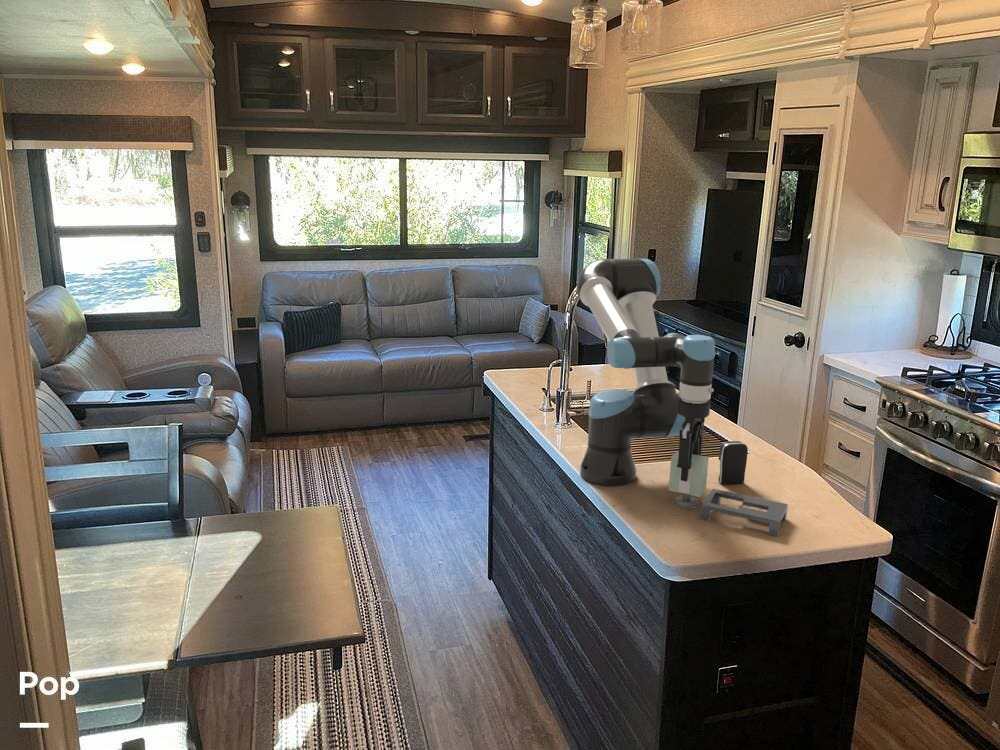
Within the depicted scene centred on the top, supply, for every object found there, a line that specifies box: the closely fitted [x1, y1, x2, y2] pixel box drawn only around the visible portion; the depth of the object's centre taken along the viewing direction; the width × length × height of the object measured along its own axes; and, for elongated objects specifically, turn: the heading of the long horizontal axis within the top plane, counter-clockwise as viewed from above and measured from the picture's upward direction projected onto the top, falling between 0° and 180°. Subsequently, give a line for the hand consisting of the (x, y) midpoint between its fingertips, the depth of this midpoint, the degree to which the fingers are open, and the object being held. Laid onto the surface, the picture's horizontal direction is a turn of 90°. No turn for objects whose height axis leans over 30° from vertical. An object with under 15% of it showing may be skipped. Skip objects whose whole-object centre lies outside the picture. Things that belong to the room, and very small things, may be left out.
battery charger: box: [718, 440, 749, 485], centre depth 210 cm, size 7×4×11 cm, turn 100°
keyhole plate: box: [699, 488, 789, 537], centre depth 189 cm, size 18×11×4 cm, turn 60°
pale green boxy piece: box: [668, 450, 710, 509], centre depth 196 cm, size 8×6×12 cm
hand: (687, 487), depth 197 cm, fingers closed on pale green boxy piece, 5 cm apart
